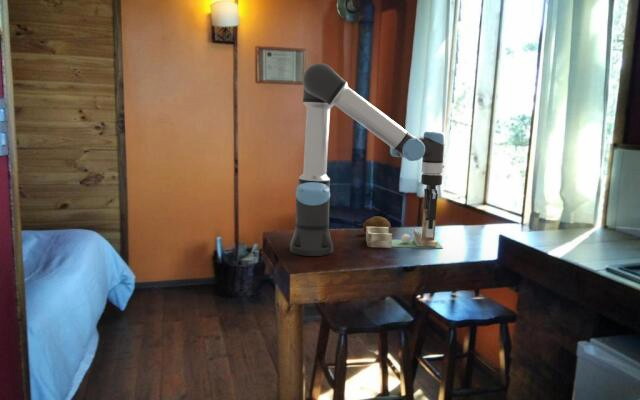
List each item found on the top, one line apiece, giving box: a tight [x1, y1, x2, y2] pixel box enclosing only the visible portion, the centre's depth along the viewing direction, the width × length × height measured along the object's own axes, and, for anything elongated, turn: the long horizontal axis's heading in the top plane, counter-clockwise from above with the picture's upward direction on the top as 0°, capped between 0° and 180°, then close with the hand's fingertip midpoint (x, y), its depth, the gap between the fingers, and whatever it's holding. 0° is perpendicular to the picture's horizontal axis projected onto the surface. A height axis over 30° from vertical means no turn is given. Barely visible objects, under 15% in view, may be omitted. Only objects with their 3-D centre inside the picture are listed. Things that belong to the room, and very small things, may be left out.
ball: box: [400, 233, 412, 244], centre depth 195 cm, size 4×4×4 cm
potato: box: [362, 215, 391, 234], centre depth 208 cm, size 8×12×8 cm, turn 122°
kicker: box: [412, 208, 438, 247], centre depth 194 cm, size 7×10×13 cm
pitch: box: [391, 239, 444, 250], centre depth 195 cm, size 26×10×1 cm, turn 89°
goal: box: [365, 227, 393, 249], centre depth 195 cm, size 9×12×5 cm
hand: (428, 235), depth 194 cm, fingers closed on kicker, 4 cm apart
